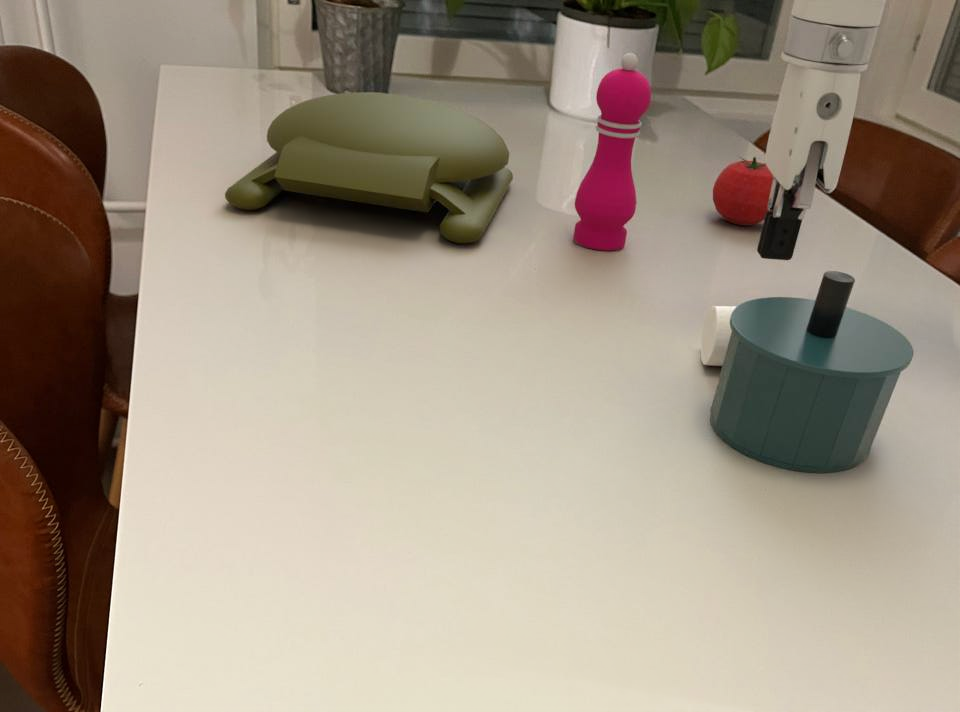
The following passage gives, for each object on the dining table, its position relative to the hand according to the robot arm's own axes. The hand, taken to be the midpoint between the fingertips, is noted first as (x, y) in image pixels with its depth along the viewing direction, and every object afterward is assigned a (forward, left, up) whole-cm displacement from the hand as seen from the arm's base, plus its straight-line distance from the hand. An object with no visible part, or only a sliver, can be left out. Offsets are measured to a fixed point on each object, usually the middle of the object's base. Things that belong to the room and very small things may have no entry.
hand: (773, 256), depth 98 cm
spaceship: (+42, -34, -8) cm, 54 cm away
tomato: (-5, -36, -8) cm, 37 cm away
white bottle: (+1, +10, -8) cm, 13 cm away
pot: (+2, +23, -7) cm, 24 cm away
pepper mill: (+15, -22, -8) cm, 28 cm away
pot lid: (+2, +23, +1) cm, 23 cm away
